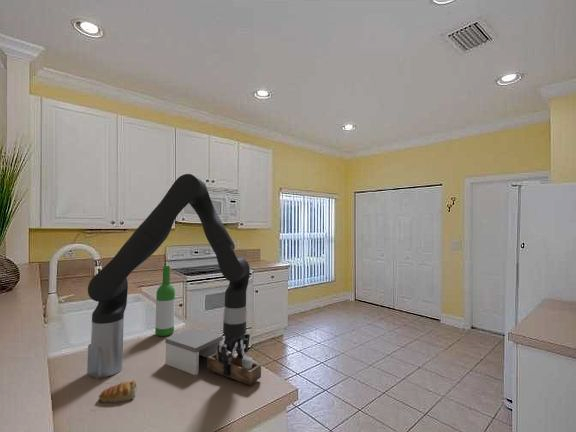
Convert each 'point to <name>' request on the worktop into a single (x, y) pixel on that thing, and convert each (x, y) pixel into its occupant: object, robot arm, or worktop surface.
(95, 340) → the robot arm
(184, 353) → the counter bay
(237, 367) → the caddy
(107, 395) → the pastry
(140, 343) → the worktop surface
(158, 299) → the wine bottle
